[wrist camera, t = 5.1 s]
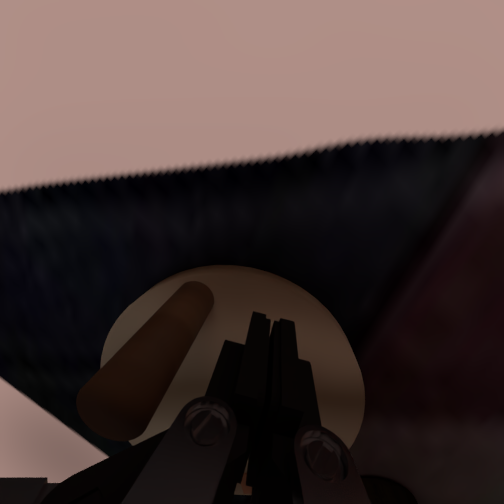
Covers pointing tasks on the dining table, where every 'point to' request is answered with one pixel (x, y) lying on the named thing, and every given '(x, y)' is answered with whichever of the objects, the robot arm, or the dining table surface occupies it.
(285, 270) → the dining table surface
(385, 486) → the wooden pepper mill
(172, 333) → the disc
